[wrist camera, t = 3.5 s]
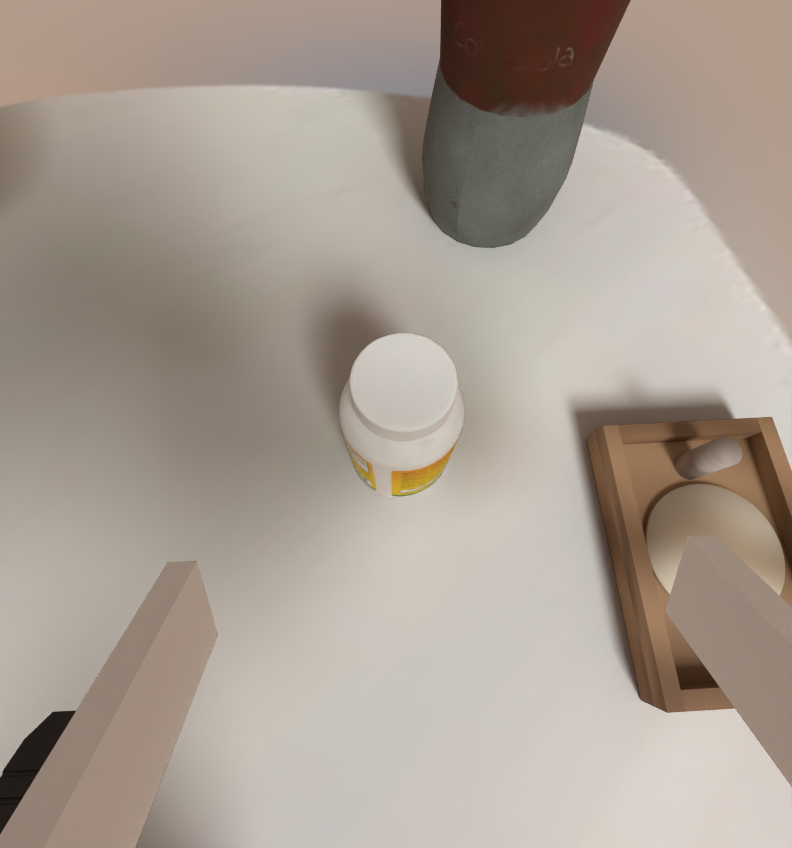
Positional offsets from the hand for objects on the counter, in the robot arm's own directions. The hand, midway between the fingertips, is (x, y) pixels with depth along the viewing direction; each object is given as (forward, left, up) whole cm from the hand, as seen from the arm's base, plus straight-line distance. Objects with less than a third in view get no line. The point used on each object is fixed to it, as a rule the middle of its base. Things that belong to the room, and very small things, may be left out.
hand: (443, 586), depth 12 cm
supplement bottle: (-6, +3, -11) cm, 14 cm away
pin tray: (+7, +13, -11) cm, 18 cm away
